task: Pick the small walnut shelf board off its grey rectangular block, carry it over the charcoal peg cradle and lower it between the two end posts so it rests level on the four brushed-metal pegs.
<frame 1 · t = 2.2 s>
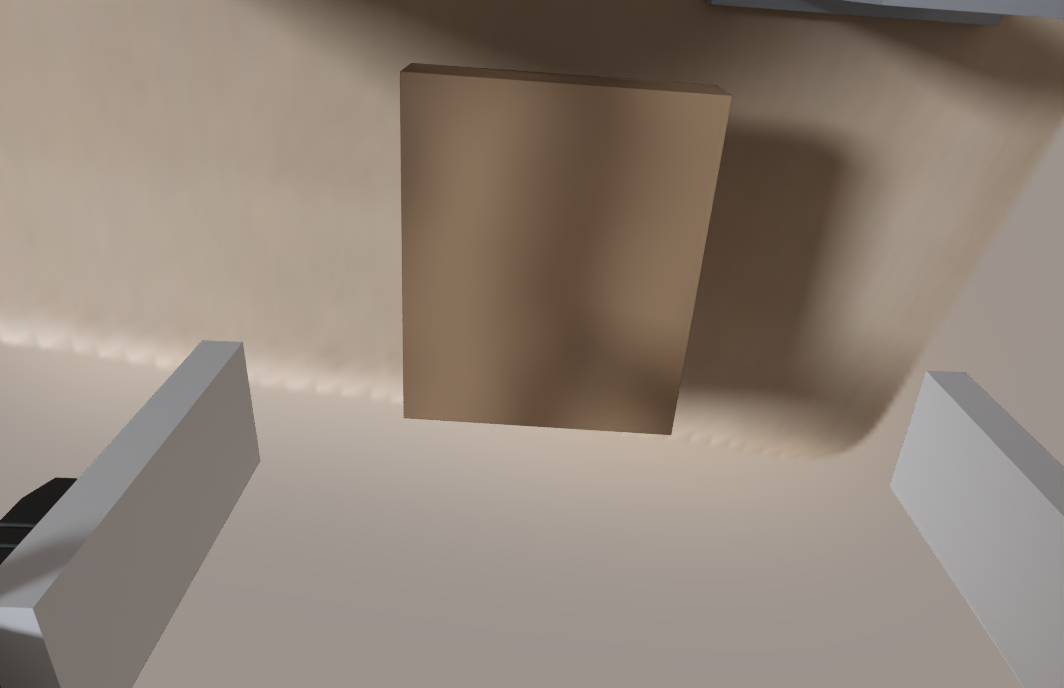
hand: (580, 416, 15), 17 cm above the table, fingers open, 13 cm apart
board: (550, 251, 25), point 6 cm above the table, touching grey rectangular block
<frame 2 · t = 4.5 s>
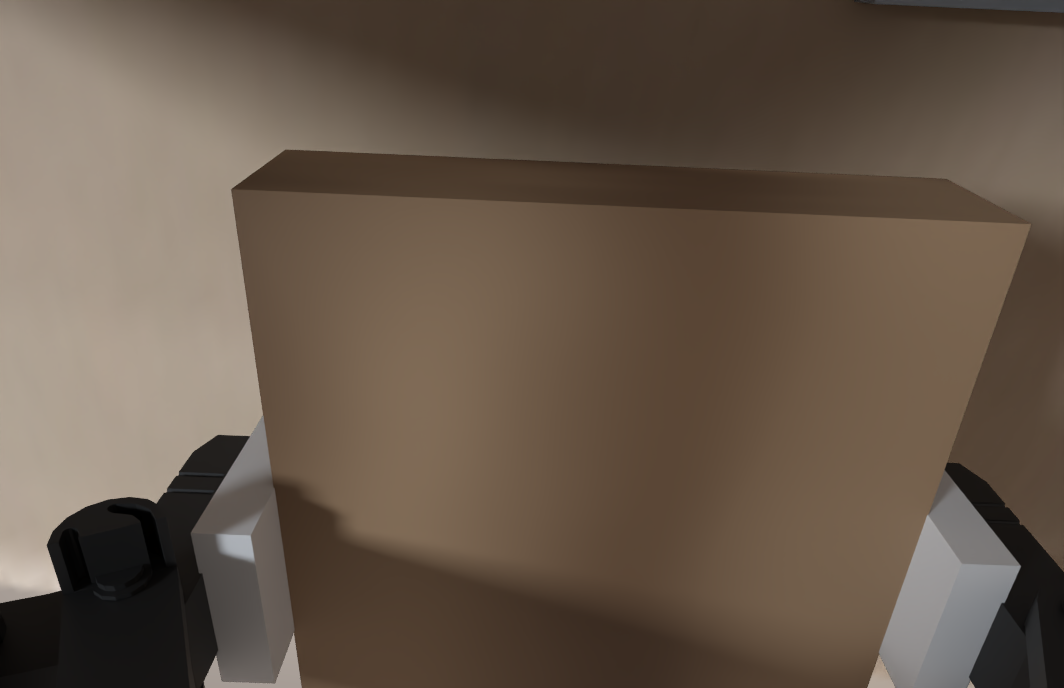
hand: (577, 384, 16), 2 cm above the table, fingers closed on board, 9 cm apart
board: (587, 489, 13), point 6 cm above the table, touching gripper, grey rectangular block
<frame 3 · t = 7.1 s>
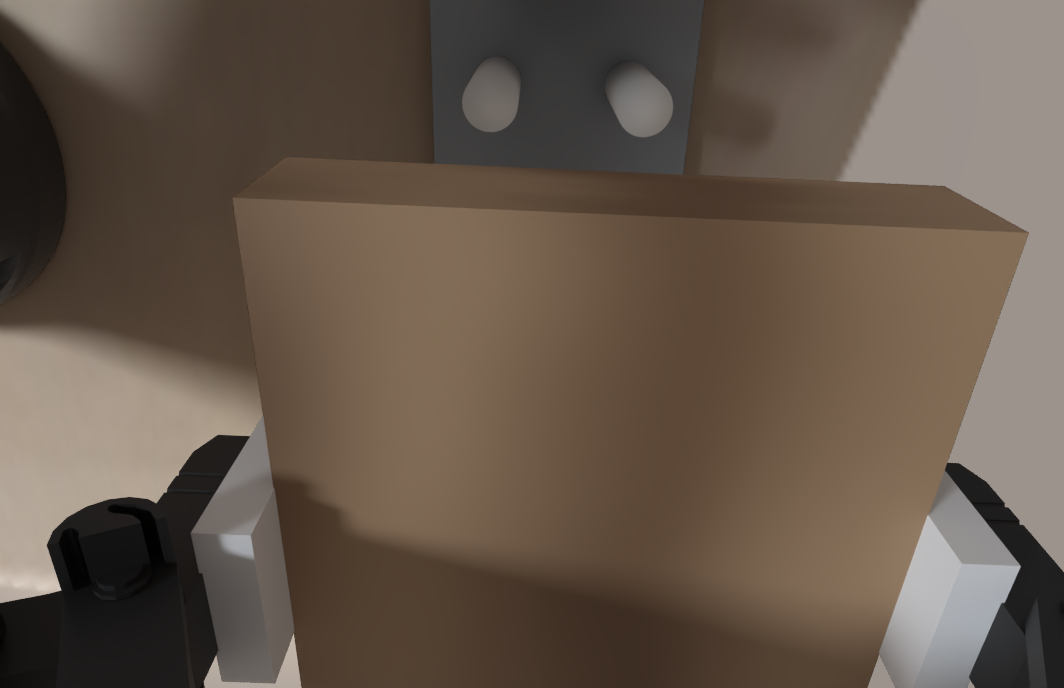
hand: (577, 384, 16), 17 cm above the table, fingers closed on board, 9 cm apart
board: (586, 494, 13), point 21 cm above the table, touching gripper
cradle: (558, 168, 31), on the table
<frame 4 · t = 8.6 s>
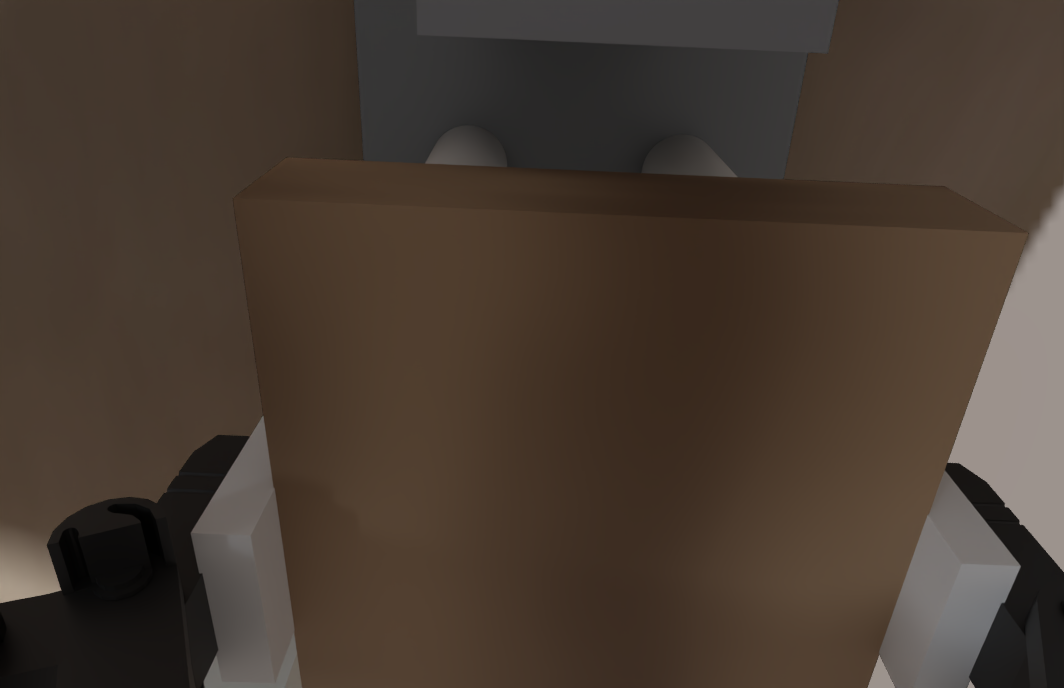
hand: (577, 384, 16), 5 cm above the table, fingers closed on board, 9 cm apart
board: (586, 494, 13), point 9 cm above the table, touching gripper
cradle: (564, 288, 20), on the table
grey rectangular block: (264, 681, 27), on the table
when the fingers open (4 cm above the table, at t = 9.7 s): board drops 1 cm, resting on cradle.
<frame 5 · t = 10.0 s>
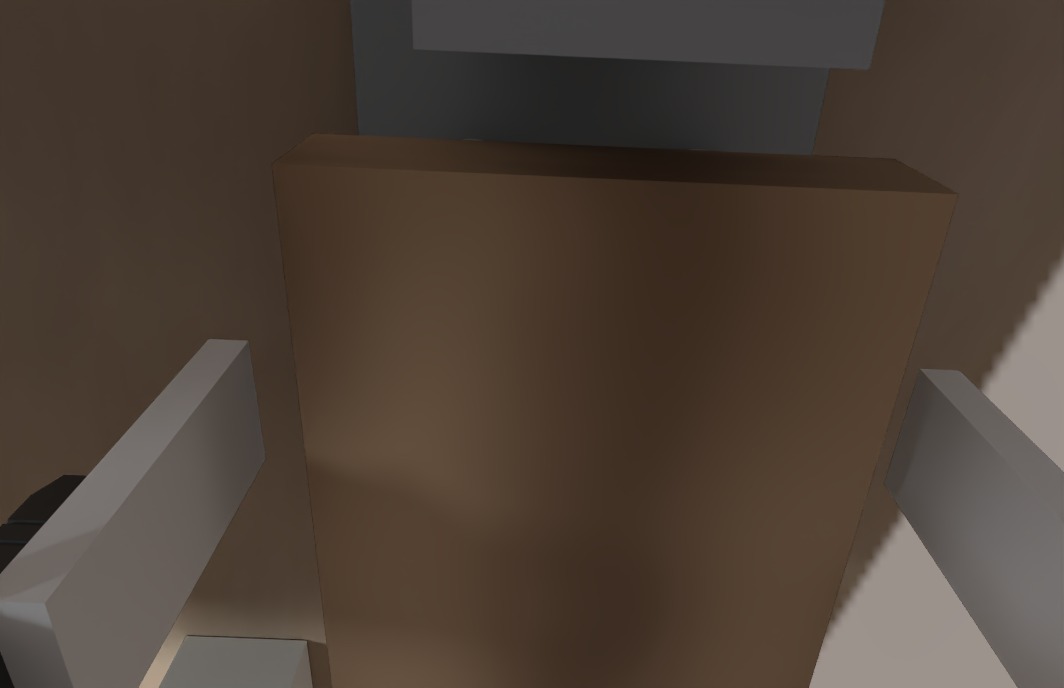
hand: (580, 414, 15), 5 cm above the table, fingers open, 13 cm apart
board: (579, 442, 14), point 6 cm above the table, touching cradle
cradle: (571, 307, 19), on the table
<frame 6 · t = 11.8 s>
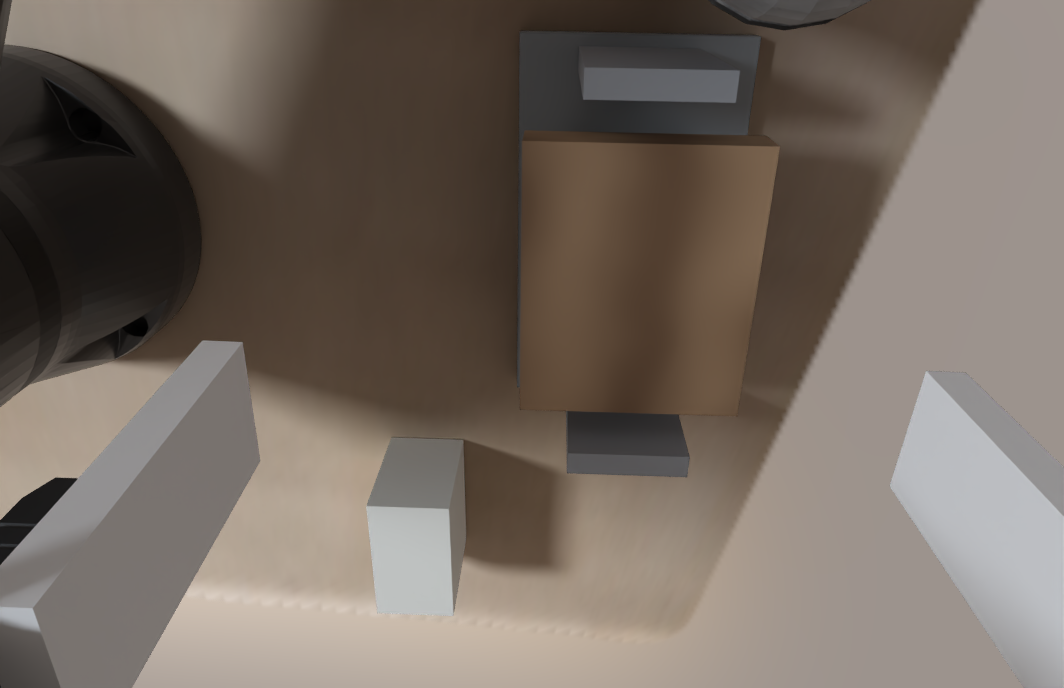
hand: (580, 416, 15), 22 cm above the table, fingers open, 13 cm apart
board: (633, 271, 31), point 6 cm above the table, touching cradle
cradle: (623, 225, 36), on the table
grey rectangular block: (430, 489, 43), on the table
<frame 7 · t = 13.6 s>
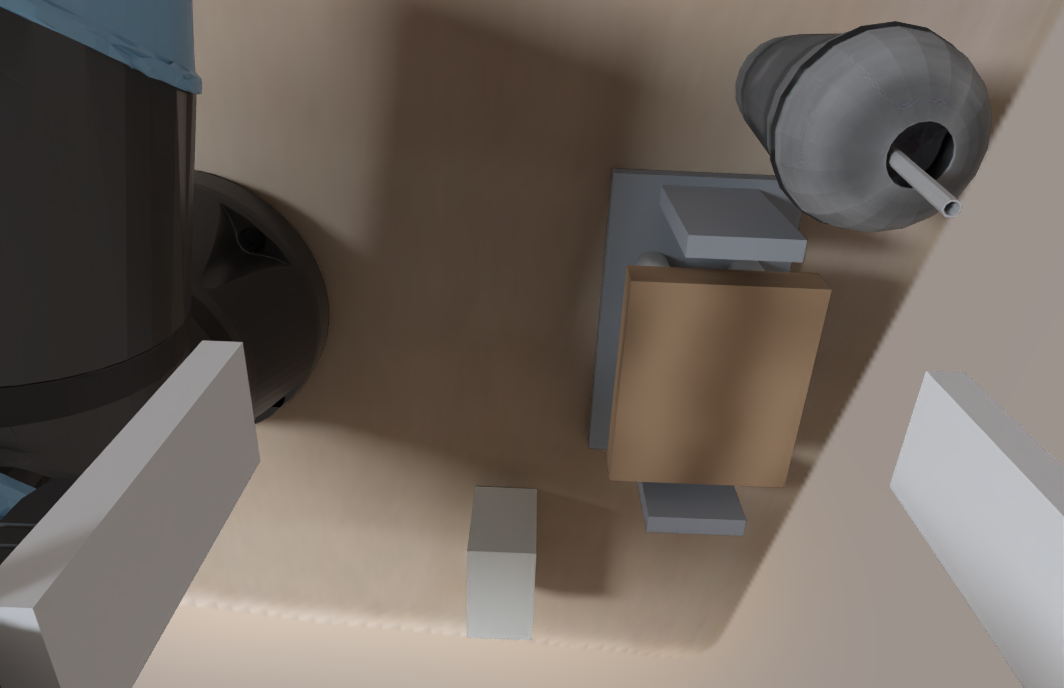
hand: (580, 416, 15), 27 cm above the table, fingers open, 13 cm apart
board: (705, 371, 38), point 6 cm above the table, touching cradle
cradle: (685, 319, 43), on the table
beverage cup: (779, 84, 38), on the table
grey rectangular block: (504, 529, 50), on the table
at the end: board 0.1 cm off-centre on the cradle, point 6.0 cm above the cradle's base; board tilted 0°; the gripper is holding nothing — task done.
